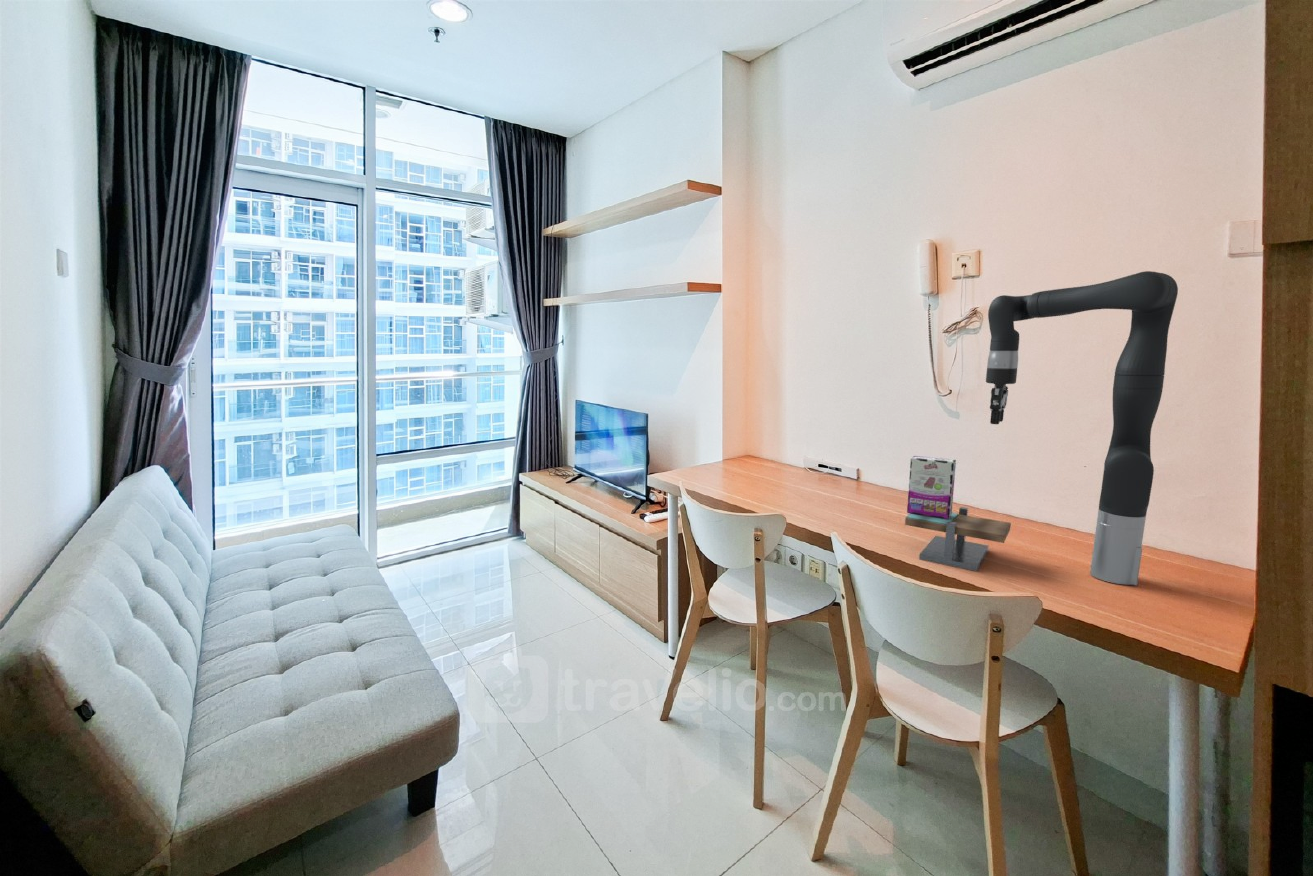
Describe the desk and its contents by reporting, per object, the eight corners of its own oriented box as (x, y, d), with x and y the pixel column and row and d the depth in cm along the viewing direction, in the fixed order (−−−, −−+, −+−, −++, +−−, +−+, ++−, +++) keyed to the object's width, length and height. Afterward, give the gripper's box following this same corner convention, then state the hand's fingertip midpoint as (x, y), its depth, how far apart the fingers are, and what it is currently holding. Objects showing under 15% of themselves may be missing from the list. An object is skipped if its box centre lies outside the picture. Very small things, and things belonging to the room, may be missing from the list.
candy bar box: (951, 515, 161) (957, 459, 158) (949, 520, 157) (954, 462, 154) (909, 509, 167) (914, 454, 165) (906, 513, 163) (910, 457, 161)
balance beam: (1010, 529, 157) (1011, 521, 156) (1003, 543, 145) (1004, 535, 144) (917, 513, 171) (918, 506, 171) (904, 525, 159) (905, 517, 159)
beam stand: (988, 550, 163) (992, 511, 161) (976, 571, 147) (981, 528, 145) (935, 540, 171) (938, 503, 169) (919, 559, 155) (922, 518, 154)
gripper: (1014, 367, 155) (1008, 426, 158) (1019, 366, 166) (1014, 421, 169) (983, 367, 160) (978, 424, 162) (990, 366, 171) (985, 419, 173)
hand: (996, 422), depth 165 cm, fingers open, 8 cm apart
